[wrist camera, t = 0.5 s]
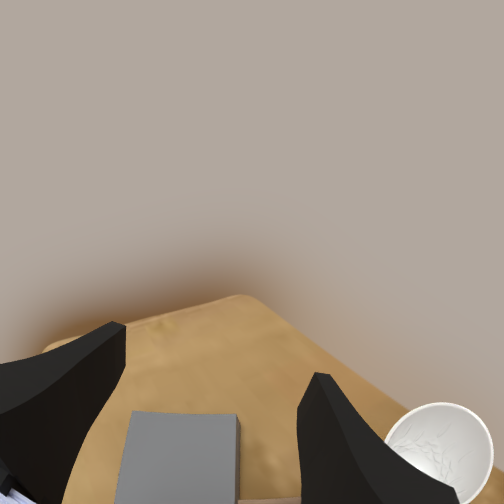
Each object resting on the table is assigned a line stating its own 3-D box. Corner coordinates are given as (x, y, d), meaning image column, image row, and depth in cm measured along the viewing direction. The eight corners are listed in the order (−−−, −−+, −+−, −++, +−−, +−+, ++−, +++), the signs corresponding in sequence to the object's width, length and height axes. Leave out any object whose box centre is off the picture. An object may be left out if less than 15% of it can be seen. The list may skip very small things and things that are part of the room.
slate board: (239, 522, 17) (234, 519, 16) (127, 509, 18) (114, 503, 16) (240, 424, 25) (236, 413, 24) (142, 421, 26) (132, 410, 25)
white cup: (341, 530, 15) (370, 521, 10) (356, 451, 21) (384, 401, 16) (431, 527, 13) (494, 505, 8) (436, 450, 19) (488, 398, 14)
